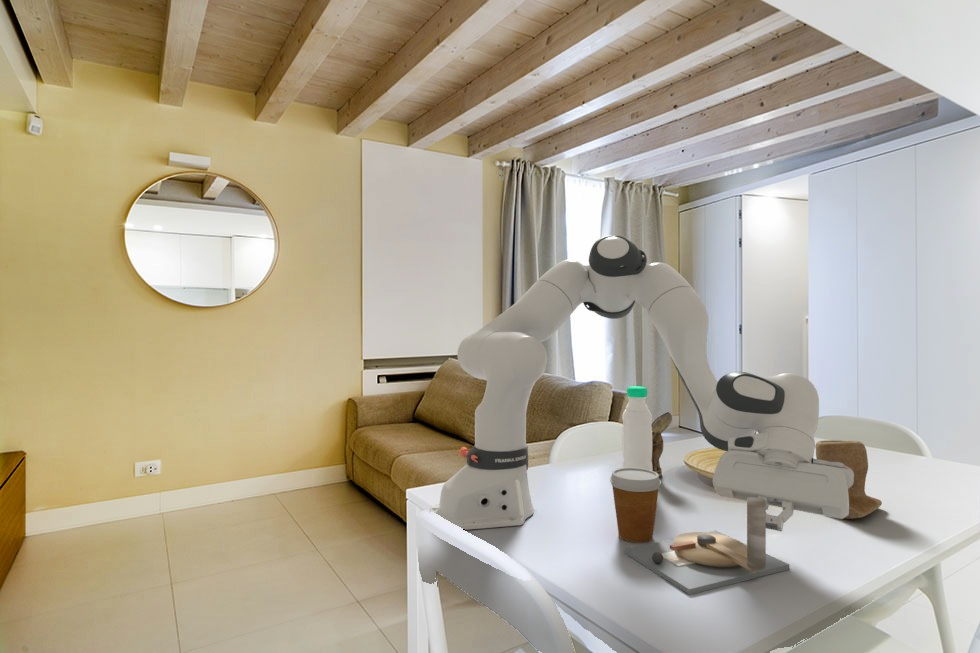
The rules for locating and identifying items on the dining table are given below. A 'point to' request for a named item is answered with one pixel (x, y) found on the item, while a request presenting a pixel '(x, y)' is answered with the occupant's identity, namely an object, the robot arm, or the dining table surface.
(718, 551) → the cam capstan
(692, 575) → the base board
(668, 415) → the stone sculpture
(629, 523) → the disposable coffee cup
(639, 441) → the water bottle
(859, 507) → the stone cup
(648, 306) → the robot arm
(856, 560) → the dining table surface
